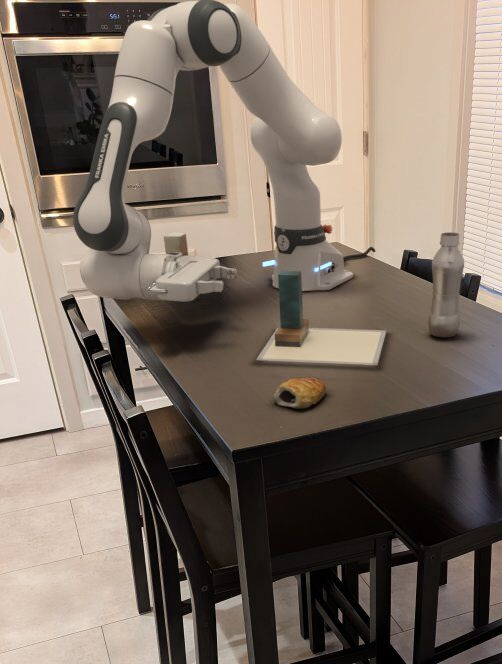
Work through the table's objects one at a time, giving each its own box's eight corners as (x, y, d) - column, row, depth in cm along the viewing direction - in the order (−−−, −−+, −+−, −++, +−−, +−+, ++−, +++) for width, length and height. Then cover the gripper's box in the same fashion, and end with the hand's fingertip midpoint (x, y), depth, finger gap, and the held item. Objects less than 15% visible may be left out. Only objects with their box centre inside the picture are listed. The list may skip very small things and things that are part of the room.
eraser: (275, 346, 142) (271, 279, 135) (285, 330, 150) (282, 266, 144) (300, 347, 141) (297, 279, 135) (308, 330, 150) (307, 266, 143)
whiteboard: (255, 364, 136) (255, 359, 136) (278, 330, 153) (278, 326, 152) (377, 369, 133) (377, 364, 133) (386, 334, 150) (386, 330, 149)
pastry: (304, 386, 127) (304, 365, 125) (336, 394, 123) (336, 373, 121) (270, 404, 120) (269, 382, 118) (303, 414, 117) (302, 392, 115)
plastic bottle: (461, 332, 151) (470, 231, 140) (455, 342, 145) (463, 238, 135) (431, 329, 152) (437, 230, 142) (424, 339, 147) (429, 236, 136)
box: (183, 281, 188) (178, 236, 182) (168, 280, 189) (162, 235, 183) (191, 275, 192) (186, 232, 186) (176, 275, 193) (170, 231, 187)
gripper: (140, 274, 133) (212, 276, 131) (177, 250, 150) (241, 251, 148) (145, 308, 136) (216, 311, 134) (180, 281, 153) (243, 283, 151)
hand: (229, 279), depth 141 cm, fingers open, 8 cm apart
